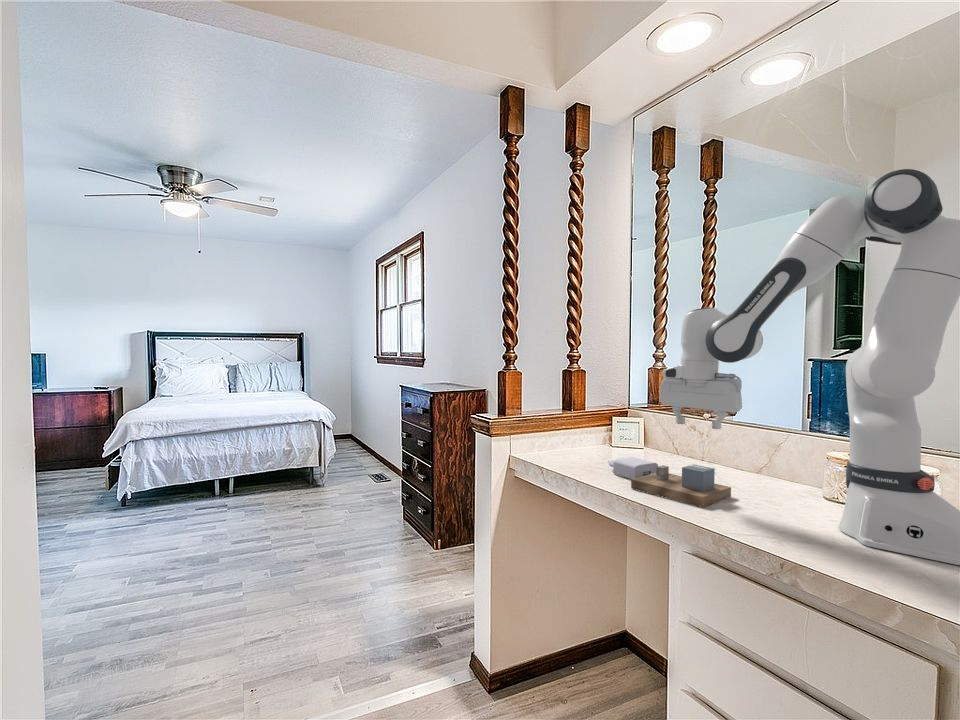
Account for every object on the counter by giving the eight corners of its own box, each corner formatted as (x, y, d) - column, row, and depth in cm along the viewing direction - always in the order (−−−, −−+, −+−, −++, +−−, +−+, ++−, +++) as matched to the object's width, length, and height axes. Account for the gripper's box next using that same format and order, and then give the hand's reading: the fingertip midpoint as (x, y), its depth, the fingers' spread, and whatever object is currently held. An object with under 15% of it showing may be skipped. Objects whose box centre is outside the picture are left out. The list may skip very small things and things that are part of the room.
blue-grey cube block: (693, 483, 127) (693, 463, 127) (714, 488, 123) (714, 467, 123) (681, 486, 124) (682, 466, 124) (703, 491, 119) (703, 470, 119)
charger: (621, 467, 156) (658, 478, 142) (599, 470, 152) (635, 482, 138) (621, 452, 156) (658, 462, 142) (599, 455, 151) (635, 465, 138)
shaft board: (730, 496, 124) (731, 473, 124) (703, 507, 115) (703, 483, 115) (660, 480, 140) (660, 459, 139) (631, 488, 131) (631, 466, 131)
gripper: (747, 373, 116) (746, 430, 117) (669, 370, 133) (668, 420, 133) (735, 374, 113) (734, 433, 113) (656, 370, 129) (655, 422, 129)
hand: (698, 426), depth 123 cm, fingers open, 8 cm apart
